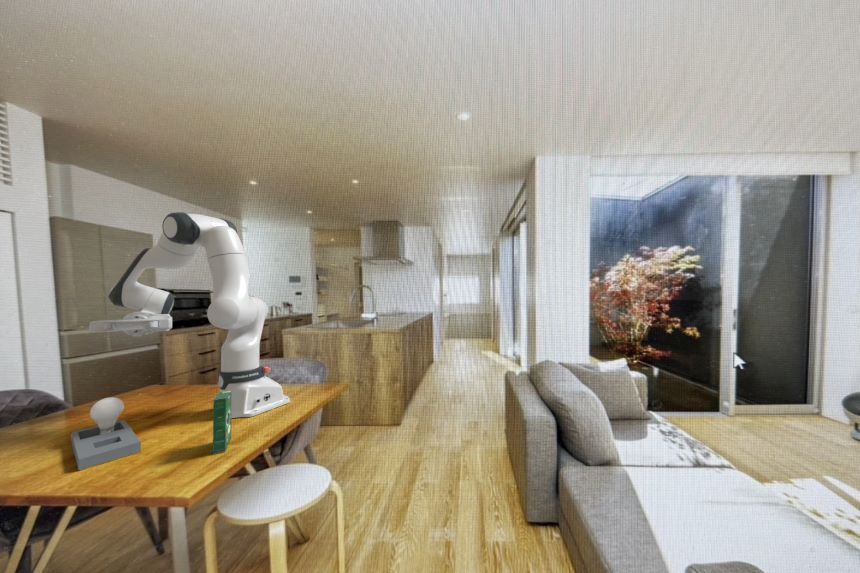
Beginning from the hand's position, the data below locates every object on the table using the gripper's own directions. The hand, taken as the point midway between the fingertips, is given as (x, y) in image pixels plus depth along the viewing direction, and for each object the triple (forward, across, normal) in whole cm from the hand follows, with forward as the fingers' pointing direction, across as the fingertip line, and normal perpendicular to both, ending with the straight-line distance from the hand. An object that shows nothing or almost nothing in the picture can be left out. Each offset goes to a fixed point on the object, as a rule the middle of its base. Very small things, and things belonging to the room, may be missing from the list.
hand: (128, 326), depth 96 cm
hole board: (+22, 0, +30) cm, 37 cm away
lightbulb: (+15, -1, +30) cm, 34 cm away
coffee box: (+41, +25, +30) cm, 57 cm away
